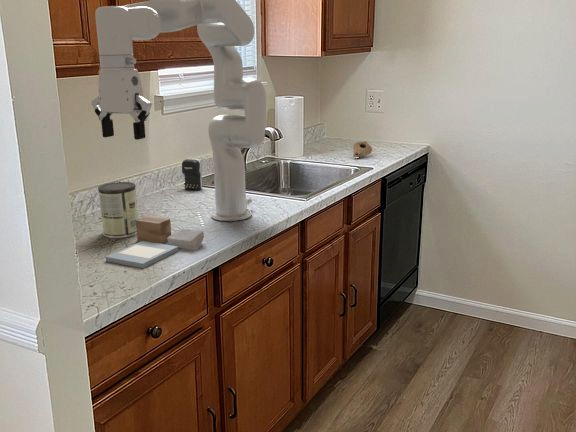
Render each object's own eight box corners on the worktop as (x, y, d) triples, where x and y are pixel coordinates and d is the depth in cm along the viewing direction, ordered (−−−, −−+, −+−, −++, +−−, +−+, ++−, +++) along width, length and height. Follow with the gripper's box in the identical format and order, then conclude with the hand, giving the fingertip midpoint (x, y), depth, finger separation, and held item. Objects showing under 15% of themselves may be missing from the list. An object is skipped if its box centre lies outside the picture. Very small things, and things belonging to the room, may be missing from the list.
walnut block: (149, 235, 172) (147, 215, 170) (171, 239, 168) (170, 218, 166) (137, 240, 167) (135, 220, 166) (160, 244, 164) (158, 223, 162)
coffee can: (108, 228, 179) (103, 182, 175) (142, 227, 179) (138, 181, 175) (98, 239, 169) (93, 190, 165) (135, 238, 169) (131, 189, 166)
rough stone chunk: (171, 257, 164) (161, 239, 162) (185, 244, 169) (176, 227, 167) (196, 253, 158) (186, 234, 156) (210, 240, 163) (200, 222, 161)
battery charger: (181, 190, 225) (179, 159, 222) (187, 187, 228) (185, 158, 225) (198, 191, 222) (196, 161, 219) (203, 189, 226) (201, 159, 222)
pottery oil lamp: (345, 158, 280) (346, 143, 278) (358, 154, 289) (358, 140, 287) (362, 160, 275) (363, 145, 273) (374, 156, 285) (374, 141, 283)
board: (142, 244, 163) (142, 240, 163) (178, 250, 158) (178, 246, 158) (106, 261, 151) (105, 256, 151) (143, 268, 146) (142, 263, 146)
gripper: (157, 62, 137) (163, 137, 142) (100, 62, 145) (107, 133, 149) (135, 63, 131) (142, 142, 135) (77, 64, 138) (85, 138, 143)
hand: (124, 137), depth 142 cm, fingers open, 9 cm apart
